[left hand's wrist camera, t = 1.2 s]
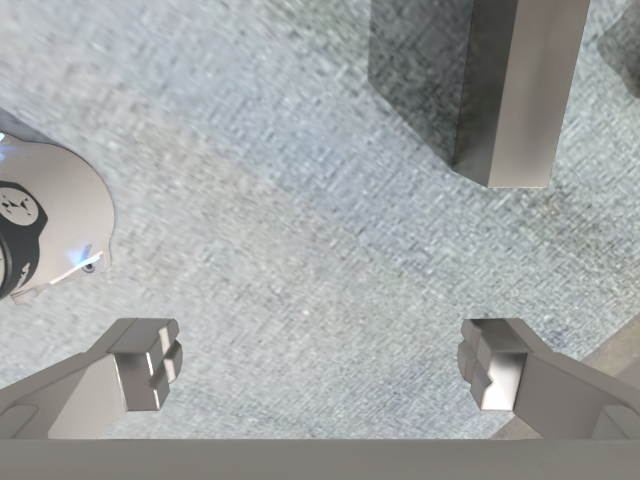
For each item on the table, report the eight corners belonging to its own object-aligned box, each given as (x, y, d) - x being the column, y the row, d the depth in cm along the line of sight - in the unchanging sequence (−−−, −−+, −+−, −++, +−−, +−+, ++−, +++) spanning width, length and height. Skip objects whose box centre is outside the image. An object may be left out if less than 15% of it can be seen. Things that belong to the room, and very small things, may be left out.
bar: (499, 171, 42) (547, 188, 33) (451, 170, 42) (486, 188, 33) (545, -85, 33) (625, -152, 25) (485, -85, 33) (544, -153, 25)
